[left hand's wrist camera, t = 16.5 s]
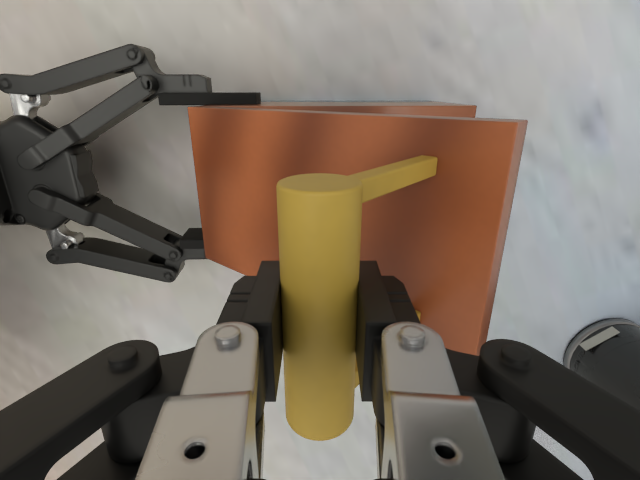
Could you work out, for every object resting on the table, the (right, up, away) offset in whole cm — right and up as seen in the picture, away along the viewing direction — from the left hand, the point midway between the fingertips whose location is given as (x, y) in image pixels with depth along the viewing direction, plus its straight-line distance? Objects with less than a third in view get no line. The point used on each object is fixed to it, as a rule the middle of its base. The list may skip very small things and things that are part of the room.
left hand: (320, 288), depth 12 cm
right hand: (-4, +7, +17) cm, 19 cm away
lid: (0, +3, +8) cm, 9 cm away
